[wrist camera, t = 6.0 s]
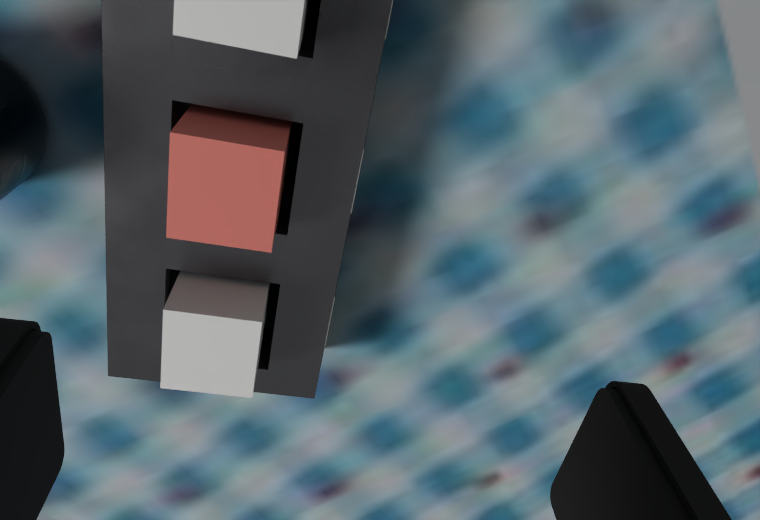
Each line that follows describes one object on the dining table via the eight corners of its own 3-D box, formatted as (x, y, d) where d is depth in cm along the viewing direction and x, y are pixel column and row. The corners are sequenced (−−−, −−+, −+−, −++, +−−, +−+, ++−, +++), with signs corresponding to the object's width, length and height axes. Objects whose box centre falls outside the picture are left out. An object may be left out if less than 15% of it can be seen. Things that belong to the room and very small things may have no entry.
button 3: (193, 240, 30) (162, 309, 25) (275, 252, 30) (262, 322, 25) (189, 310, 32) (160, 387, 27) (265, 320, 32) (252, 398, 27)
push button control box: (136, -335, 20) (94, -388, 16) (434, -252, 21) (453, -284, 18) (132, 327, 33) (108, 375, 29) (319, 349, 34) (317, 398, 31)
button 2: (202, 89, 26) (169, 132, 21) (294, 105, 27) (284, 151, 22) (197, 178, 28) (166, 237, 23) (283, 192, 29) (271, 252, 24)
